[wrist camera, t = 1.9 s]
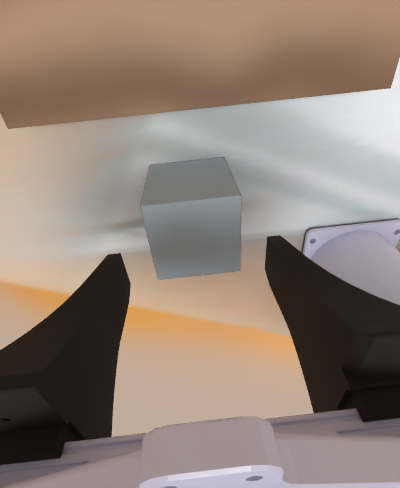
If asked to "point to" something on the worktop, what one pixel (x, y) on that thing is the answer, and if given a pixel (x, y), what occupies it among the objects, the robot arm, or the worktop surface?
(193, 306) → the worktop surface
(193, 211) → the block
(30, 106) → the plinth
